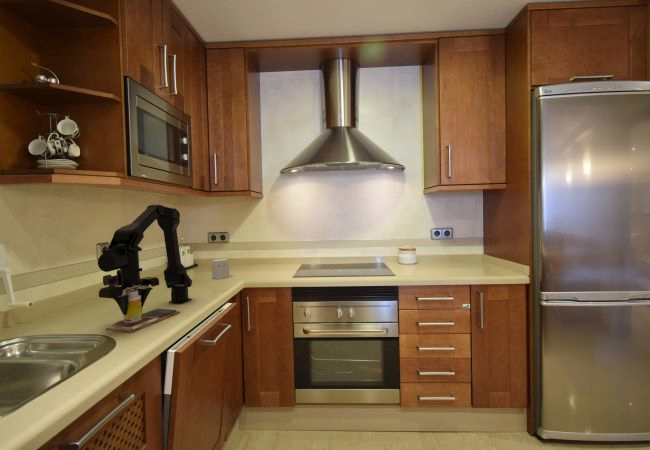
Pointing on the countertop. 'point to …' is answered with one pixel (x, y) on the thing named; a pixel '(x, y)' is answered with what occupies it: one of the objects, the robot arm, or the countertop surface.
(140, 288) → the robot arm
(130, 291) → the supplement bottle
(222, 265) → the small box
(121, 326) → the board
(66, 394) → the countertop surface
